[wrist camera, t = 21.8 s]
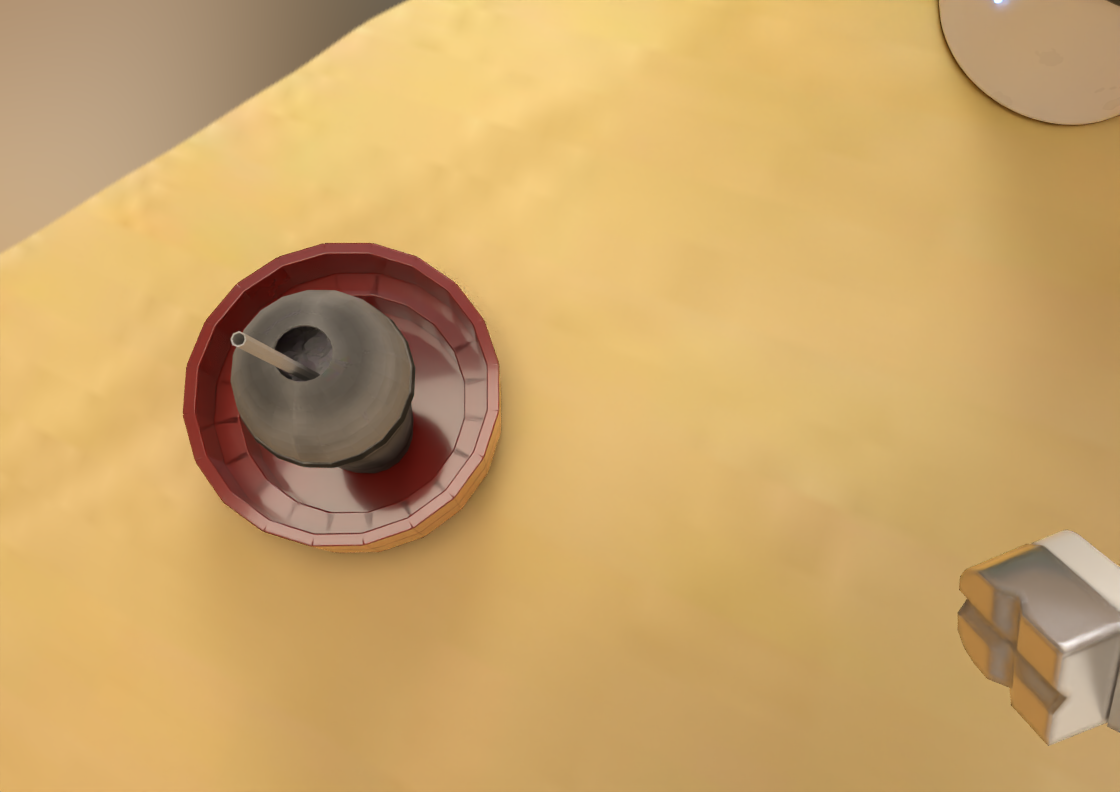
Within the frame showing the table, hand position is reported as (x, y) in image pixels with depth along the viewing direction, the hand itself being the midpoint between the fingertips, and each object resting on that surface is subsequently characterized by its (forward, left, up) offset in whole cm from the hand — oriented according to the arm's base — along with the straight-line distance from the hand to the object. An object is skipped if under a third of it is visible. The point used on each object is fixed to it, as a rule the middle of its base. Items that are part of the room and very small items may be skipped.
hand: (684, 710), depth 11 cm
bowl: (-3, -15, -35) cm, 39 cm away
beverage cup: (-3, -14, -35) cm, 38 cm away
